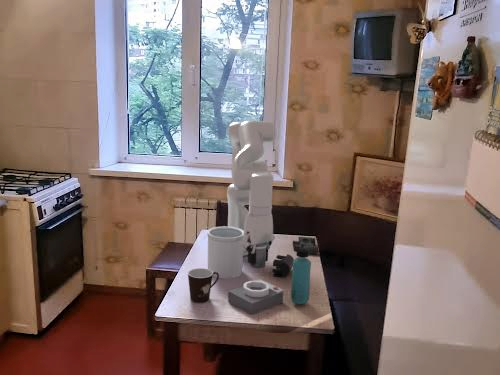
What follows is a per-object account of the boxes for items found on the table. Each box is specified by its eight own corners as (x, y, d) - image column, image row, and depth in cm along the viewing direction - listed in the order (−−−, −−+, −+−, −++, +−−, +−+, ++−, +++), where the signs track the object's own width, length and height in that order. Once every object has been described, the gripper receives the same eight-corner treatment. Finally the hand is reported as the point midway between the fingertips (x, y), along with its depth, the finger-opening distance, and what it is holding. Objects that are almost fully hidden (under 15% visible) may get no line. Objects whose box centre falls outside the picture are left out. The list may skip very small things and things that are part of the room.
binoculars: (294, 254, 208) (294, 241, 206) (292, 243, 223) (292, 231, 222) (317, 256, 207) (318, 243, 206) (314, 244, 223) (315, 232, 222)
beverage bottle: (312, 304, 158) (316, 249, 154) (301, 310, 153) (305, 254, 149) (297, 298, 162) (300, 245, 158) (286, 303, 157) (289, 249, 153)
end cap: (289, 279, 179) (290, 263, 177) (272, 276, 181) (272, 260, 179) (293, 270, 188) (294, 254, 187) (277, 268, 190) (278, 252, 189)
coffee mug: (189, 306, 152) (189, 278, 150) (185, 295, 160) (186, 269, 158) (223, 303, 155) (224, 276, 153) (217, 293, 163) (218, 266, 161)
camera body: (228, 301, 157) (228, 285, 156) (259, 290, 167) (259, 275, 166) (251, 314, 148) (252, 297, 147) (282, 302, 158) (283, 286, 157)
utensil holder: (243, 281, 175) (245, 237, 172) (205, 280, 174) (206, 236, 171) (242, 266, 189) (244, 226, 186) (207, 266, 189) (208, 225, 185)
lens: (246, 264, 154) (247, 242, 153) (257, 261, 158) (258, 239, 157) (257, 269, 151) (258, 246, 149) (268, 266, 154) (269, 243, 153)
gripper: (270, 205, 159) (267, 254, 163) (233, 211, 148) (231, 264, 151) (285, 209, 154) (282, 259, 157) (248, 216, 142) (246, 270, 146)
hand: (257, 261), depth 154 cm, fingers closed on lens, 5 cm apart
